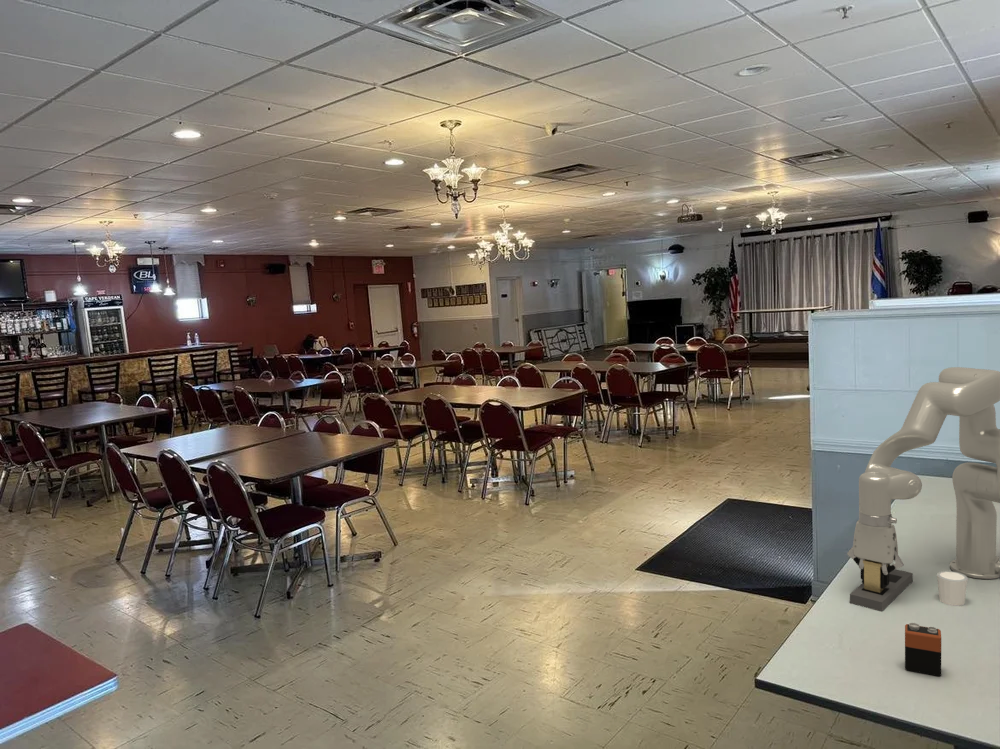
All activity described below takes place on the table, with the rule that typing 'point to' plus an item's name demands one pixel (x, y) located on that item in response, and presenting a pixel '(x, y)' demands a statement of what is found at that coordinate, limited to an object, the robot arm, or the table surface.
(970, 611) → the table surface
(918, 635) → the battery
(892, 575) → the rail
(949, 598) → the white short cylinder
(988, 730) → the table surface
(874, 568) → the tan upright block
